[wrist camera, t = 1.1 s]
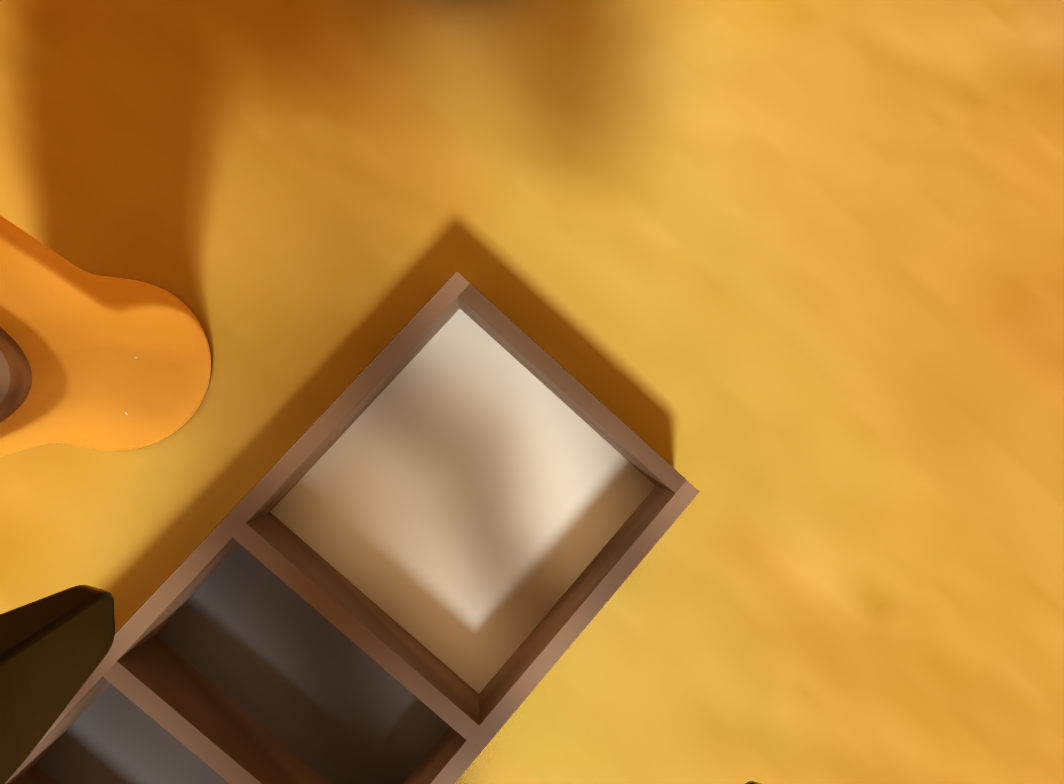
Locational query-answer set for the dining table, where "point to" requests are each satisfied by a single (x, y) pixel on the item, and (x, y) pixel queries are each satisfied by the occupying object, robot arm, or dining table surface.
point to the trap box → (381, 577)
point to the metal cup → (91, 354)
